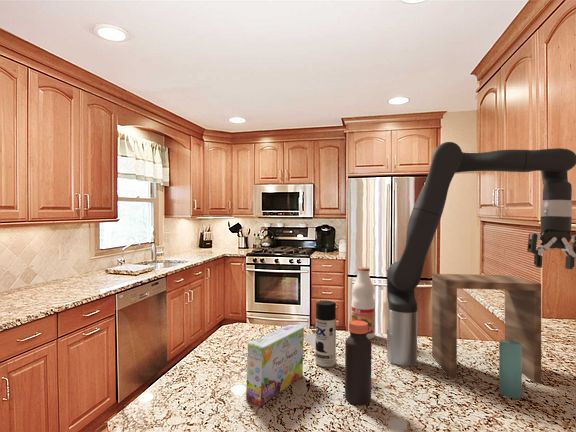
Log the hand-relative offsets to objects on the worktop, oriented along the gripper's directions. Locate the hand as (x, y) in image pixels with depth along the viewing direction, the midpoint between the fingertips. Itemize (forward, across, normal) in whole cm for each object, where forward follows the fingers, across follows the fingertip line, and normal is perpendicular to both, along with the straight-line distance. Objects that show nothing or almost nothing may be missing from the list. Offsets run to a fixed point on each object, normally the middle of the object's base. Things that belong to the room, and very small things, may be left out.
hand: (553, 268), depth 106 cm
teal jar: (+34, +18, +14) cm, 40 cm away
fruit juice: (+36, +53, -29) cm, 70 cm away
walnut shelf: (+34, +18, -2) cm, 39 cm away
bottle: (+35, +59, +22) cm, 72 cm away
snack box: (+36, +82, +19) cm, 91 cm away
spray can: (+36, +68, 0) cm, 77 cm away
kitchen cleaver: (+37, +73, -25) cm, 85 cm away
